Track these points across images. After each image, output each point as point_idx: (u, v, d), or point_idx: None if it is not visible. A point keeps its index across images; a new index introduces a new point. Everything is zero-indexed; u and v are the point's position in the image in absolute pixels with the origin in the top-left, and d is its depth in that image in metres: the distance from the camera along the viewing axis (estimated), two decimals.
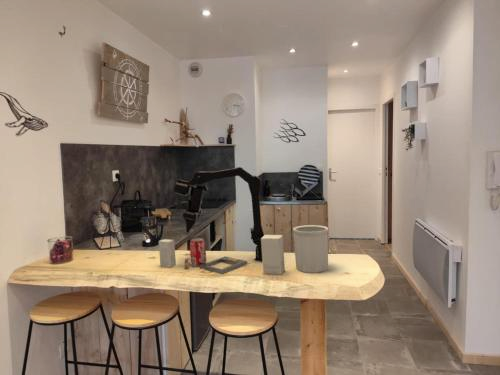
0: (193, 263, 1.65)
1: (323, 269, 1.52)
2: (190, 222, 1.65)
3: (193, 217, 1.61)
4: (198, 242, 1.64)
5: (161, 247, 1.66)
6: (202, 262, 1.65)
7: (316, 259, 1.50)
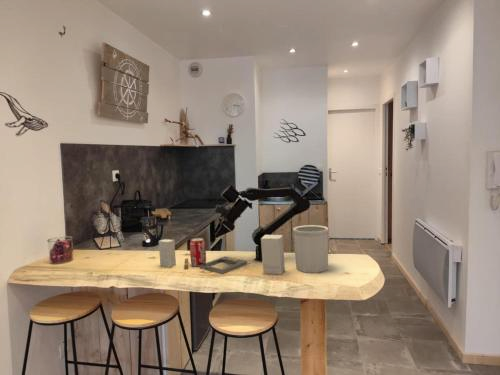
0: (193, 263, 1.65)
1: (323, 269, 1.52)
2: (223, 230, 1.62)
3: (231, 228, 1.59)
4: (198, 242, 1.64)
5: (161, 247, 1.66)
6: (202, 262, 1.65)
7: (316, 259, 1.50)
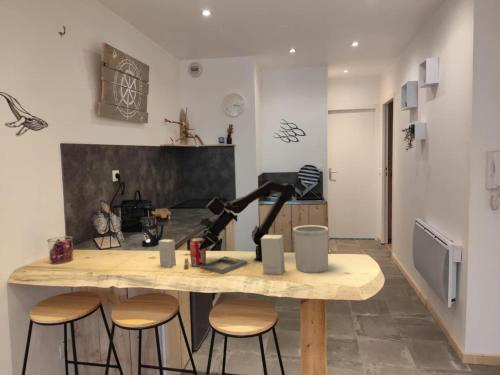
0: (193, 263, 1.65)
1: (323, 269, 1.52)
2: (207, 242, 1.62)
3: (215, 241, 1.59)
4: (198, 242, 1.64)
5: (161, 247, 1.66)
6: (202, 262, 1.65)
7: (316, 259, 1.50)
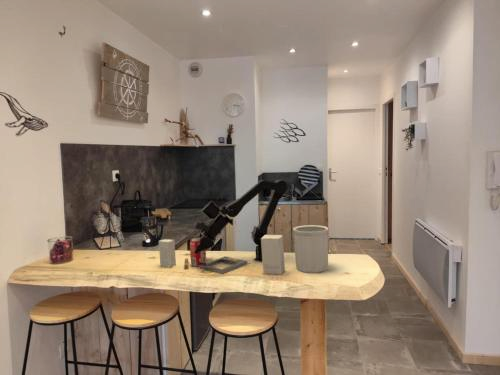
0: (193, 263, 1.65)
1: (323, 269, 1.52)
2: (203, 246, 1.63)
3: (210, 245, 1.59)
4: (198, 242, 1.64)
5: (161, 247, 1.66)
6: (202, 262, 1.65)
7: (316, 259, 1.50)
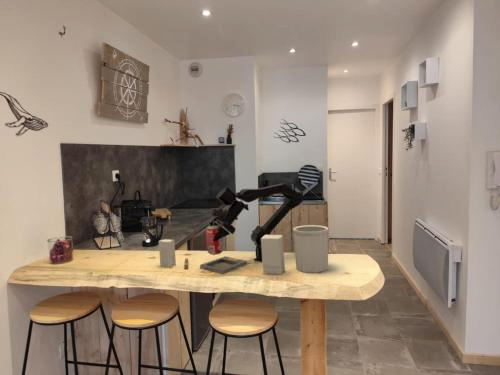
0: (211, 251, 1.60)
1: (323, 269, 1.52)
2: (222, 233, 1.59)
3: (232, 231, 1.56)
4: (216, 229, 1.60)
5: (161, 247, 1.66)
6: (220, 250, 1.61)
7: (316, 259, 1.50)
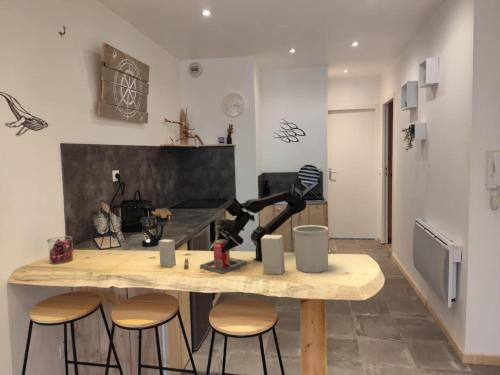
0: (219, 265, 1.60)
1: (323, 269, 1.52)
2: (230, 244, 1.58)
3: (240, 242, 1.56)
4: (224, 243, 1.60)
5: (161, 247, 1.66)
6: (228, 264, 1.61)
7: (316, 259, 1.50)
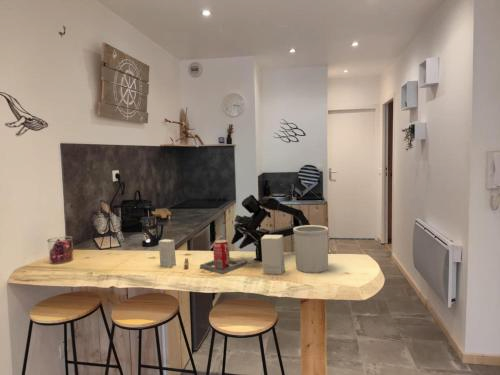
0: (219, 266, 1.60)
1: (323, 269, 1.52)
2: (248, 240, 1.62)
3: (258, 238, 1.60)
4: (224, 243, 1.60)
5: (161, 247, 1.66)
6: (228, 264, 1.61)
7: (316, 259, 1.50)
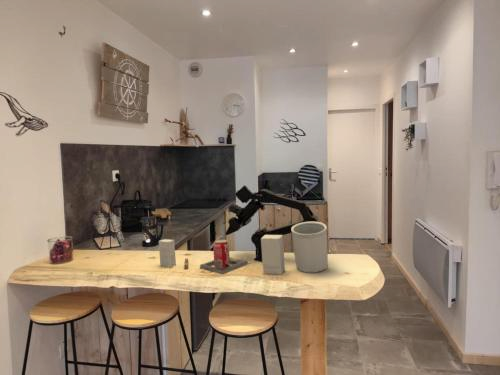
0: (219, 265, 1.60)
1: (323, 268, 1.51)
2: (232, 228, 1.69)
3: (236, 227, 1.65)
4: (224, 243, 1.60)
5: (161, 247, 1.66)
6: (228, 264, 1.61)
7: (315, 260, 1.49)
